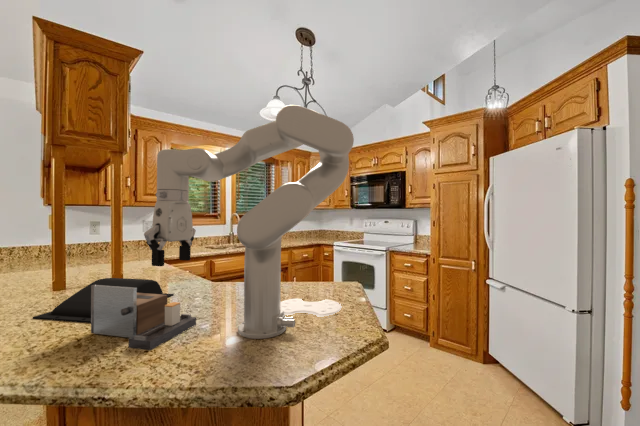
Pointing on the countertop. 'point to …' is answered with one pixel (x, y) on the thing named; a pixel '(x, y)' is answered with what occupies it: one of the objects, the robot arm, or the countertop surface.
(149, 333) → the fader strip
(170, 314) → the fader knob
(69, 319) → the black piece
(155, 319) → the wooden block
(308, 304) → the white bone shape
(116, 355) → the countertop surface
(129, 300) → the door
